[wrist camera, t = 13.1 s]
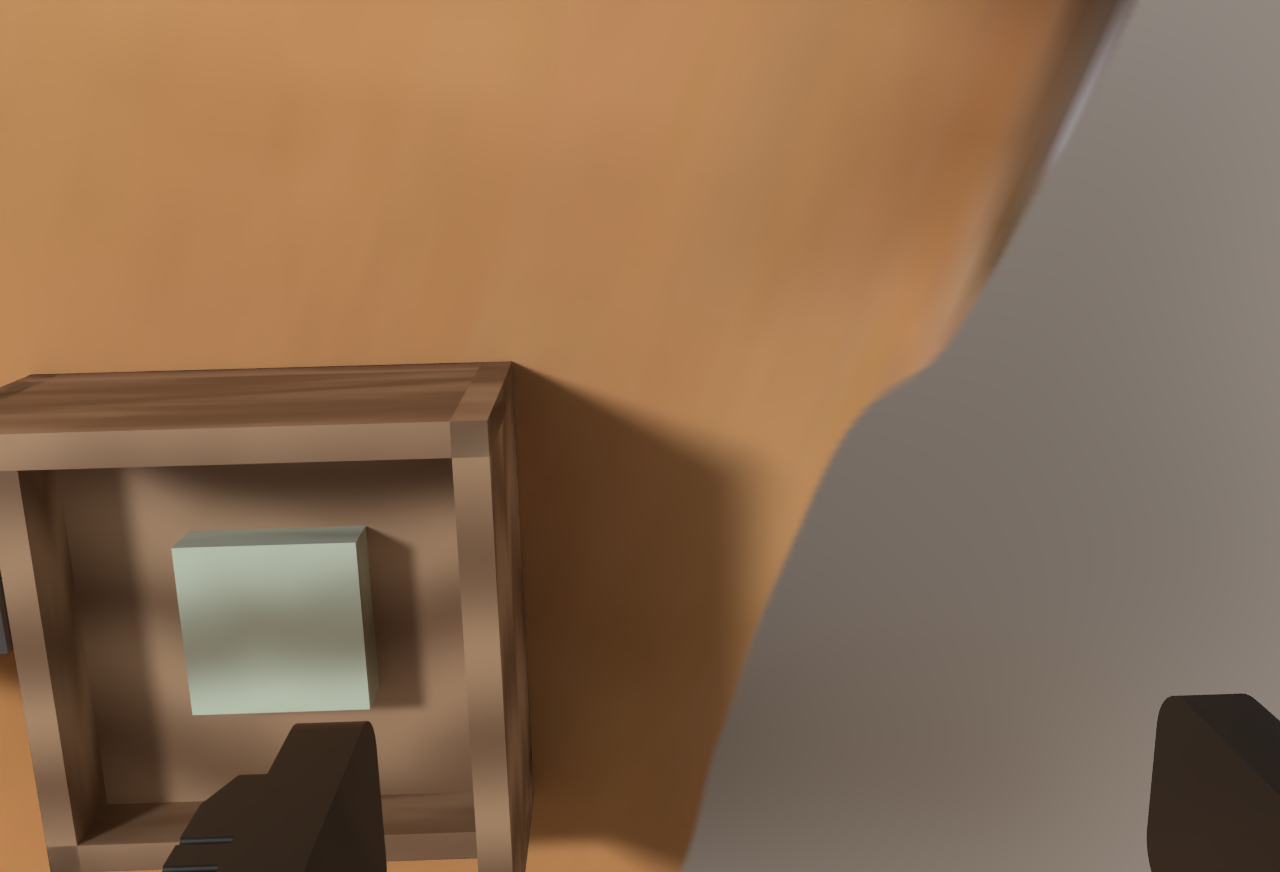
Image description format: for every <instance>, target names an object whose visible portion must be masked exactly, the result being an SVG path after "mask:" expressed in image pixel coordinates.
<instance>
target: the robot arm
mask: <svg viewBox="0 0 1280 872" xmlns="http://www.w3.org/2000/svg"><path fill="white" fill-rule="evenodd" d="M1147 849H1148V857H1149V863H1150V867H1151V871H1152V872H1280V721H1279V720H1278V719H1277V718H1275V716H1273V715H1272V714H1271V713H1270V712H1269V711H1268V710H1267V709H1266V708H1264V707H1263V706H1262V705H1261V704H1260V703H1259V702H1257V701H1256V700H1255V699H1254V698H1253V697H1251V696H1249V695H1247V694H1220V695H1218V694H1217V695H1188V696H1171V697H1168V698H1167V699H1166V700H1165V701H1164V703H1163V704H1162V706H1161V708H1160V711H1159V715H1158V721H1157V729H1156V740H1155V751H1154V762H1153V772H1152V783H1151V794H1150V805H1149V816H1148V826H1147ZM162 872H387V865H386V849H385V838H384V826H383V814H382V803H381V791H380V780H379V768H378V756H377V745H376V738H375V733H374V729H373V726H372V724H371V722H369V721H353V722H322V723H297V724H295V725H294V726H293V727H292V728H291V730H290V732H289V734H288V736H287V738H286V739H285V741H284V743H283V745H282V747H281V749H280V751H279V753H278V755H277V756H276V758H275V760H274V762H273V764H272V766H271V768H270V770H269V772H268V773H267V774H250V775H238V776H237V777H235V778H234V779H233V780H232V781H230V782H229V783H228V784H226V785H225V786H224V787H222V788H221V789H220V790H218V791H217V792H216V793H215V794H213V795H212V796H211V797H209V798H208V799H207V800H205V801H204V802H203V803H201V804H200V806H199V807H198V809H197V811H196V812H195V814H194V815H193V817H192V819H191V820H190V822H189V824H188V825H187V827H186V829H185V830H184V832H183V834H182V835H181V837H180V843H179V845H175V847H174V849H173V850H172V852H171V853H170V855H169V857H168V858H167V860H166V862H165V863H164V865H163V871H162Z"/></svg>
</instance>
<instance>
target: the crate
mask: <svg viewBox="0 0 1280 872" xmlns="http://www.w3.org/2000/svg"><path fill="white" fill-rule="evenodd" d="M0 570H1V576H2V582H3V588H4V594H5V600H6V606H7V612H8V618H9V624H10V630H11V636H12V642H13V648H14V654H15V661H16V667H17V673H18V679H19V685H20V691H21V697H22V703H23V709H24V715H25V721H26V727H27V733H28V739H29V745H30V751H31V757H32V763H33V769H34V775H35V781H36V787H37V793H38V799H39V805H40V811H41V817H42V823H43V829H44V835H45V841H46V847H47V853H48V859H49V865H50V871H51V872H105V871H133V870H161V869H163V865H164V863H165V862H166V860H167V858H168V857H169V855H170V853H171V852H172V850H173V849H174V847H175V845H179V843H180V837H181V835H182V834H183V832H184V830H185V829H186V827H187V825H188V824H189V822H190V820H191V819H192V817H193V815H194V814H195V812H196V811H197V809H198V807H199V806H200V804H201V803H203V802H204V801H205V800H207V799H208V798H209V797H211V796H212V795H213V794H215V793H216V792H217V791H218V790H220V789H221V788H222V787H224V786H225V785H226V784H228V783H229V782H230V781H232V780H233V779H234V778H235V777H237V776H238V775H250V774H267V773H268V772H269V770H270V768H271V766H272V764H273V762H274V760H275V758H276V756H277V755H278V753H279V751H280V749H281V747H282V745H283V743H284V741H285V739H286V738H287V736H288V734H289V732H290V730H291V728H292V727H293V726H294V725H295V724H297V723H322V722H353V721H369V722H371V724H372V726H373V729H374V733H375V738H376V745H377V756H378V768H379V780H380V791H381V803H382V814H383V826H384V838H385V849H386V861H414V860H442V859H470V858H478V872H525V870H526V861H527V852H528V843H529V834H530V825H531V816H532V807H533V798H534V791H533V772H532V752H531V732H530V712H529V692H528V672H527V652H526V633H525V613H524V593H523V573H522V553H521V533H520V513H519V493H518V474H517V454H516V434H515V414H514V394H513V374H512V362H476V363H439V364H403V365H366V366H329V367H293V368H256V369H220V370H183V371H147V372H110V373H74V374H37V375H29V376H27V377H24V378H22V379H19V380H17V381H15V382H12V383H10V384H8V385H5V386H3V387H1V388H0Z"/></svg>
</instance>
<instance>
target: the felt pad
mask: <svg viewBox="0 0 1280 872" xmlns="http://www.w3.org/2000/svg"><path fill="white" fill-rule="evenodd" d="M11 651H12V644H11V638H10V632H9V626H8V620H7V614H6V608H5V602H4V596H3V590H2V584H1V578H0V654H8V653H10V652H11Z"/></svg>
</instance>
